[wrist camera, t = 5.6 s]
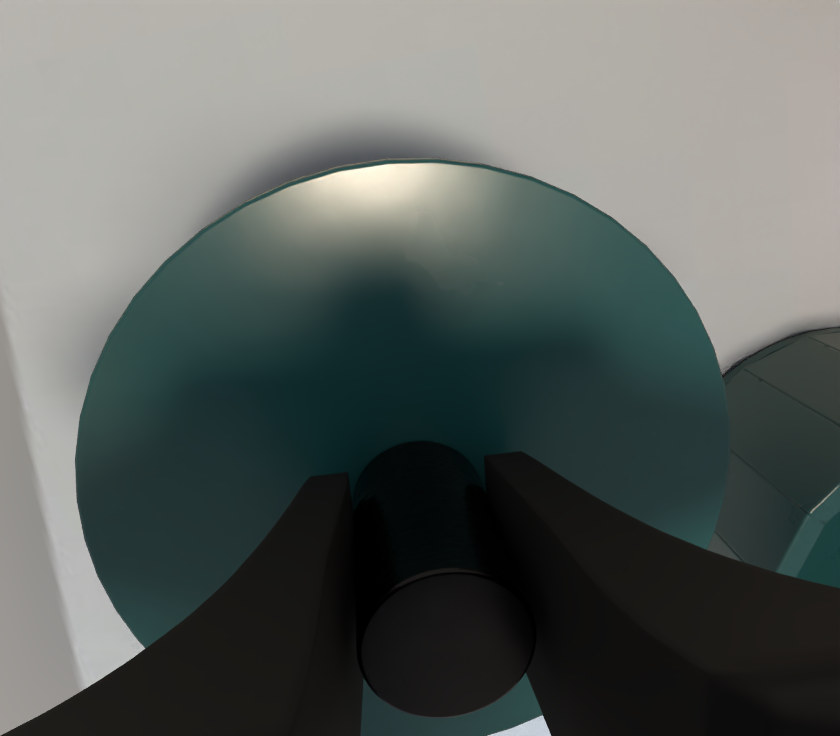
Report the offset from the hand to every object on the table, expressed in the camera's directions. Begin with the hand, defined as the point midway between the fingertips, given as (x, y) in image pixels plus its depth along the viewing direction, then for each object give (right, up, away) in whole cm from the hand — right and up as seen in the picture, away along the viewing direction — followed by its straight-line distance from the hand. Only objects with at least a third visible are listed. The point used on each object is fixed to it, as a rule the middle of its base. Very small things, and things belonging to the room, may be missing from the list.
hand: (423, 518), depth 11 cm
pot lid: (0, 0, +1) cm, 1 cm away
